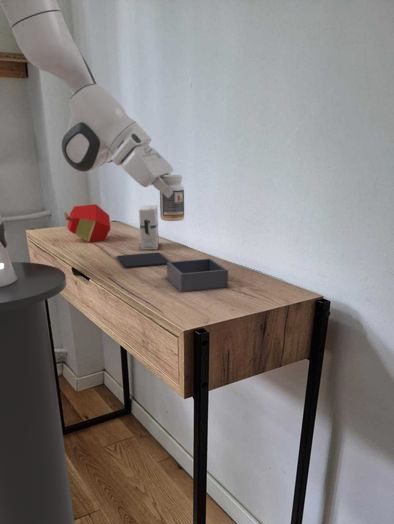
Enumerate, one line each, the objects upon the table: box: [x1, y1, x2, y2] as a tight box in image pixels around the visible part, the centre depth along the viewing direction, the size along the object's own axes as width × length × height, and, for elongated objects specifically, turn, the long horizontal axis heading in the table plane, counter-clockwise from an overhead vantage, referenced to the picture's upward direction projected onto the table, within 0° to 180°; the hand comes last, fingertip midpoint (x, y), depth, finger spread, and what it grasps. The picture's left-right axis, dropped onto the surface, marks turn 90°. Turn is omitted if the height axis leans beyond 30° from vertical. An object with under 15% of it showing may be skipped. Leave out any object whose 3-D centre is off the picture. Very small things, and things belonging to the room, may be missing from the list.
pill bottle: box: [159, 174, 185, 222], centre depth 113 cm, size 6×6×10 cm
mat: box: [116, 252, 170, 269], centre depth 132 cm, size 12×12×1 cm
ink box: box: [138, 204, 160, 251], centre depth 145 cm, size 8×5×12 cm, turn 0°
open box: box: [166, 258, 229, 293], centre depth 113 cm, size 11×11×4 cm
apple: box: [63, 203, 111, 243], centre depth 154 cm, size 12×12×15 cm
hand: (174, 193), depth 112 cm, fingers closed on pill bottle, 6 cm apart
